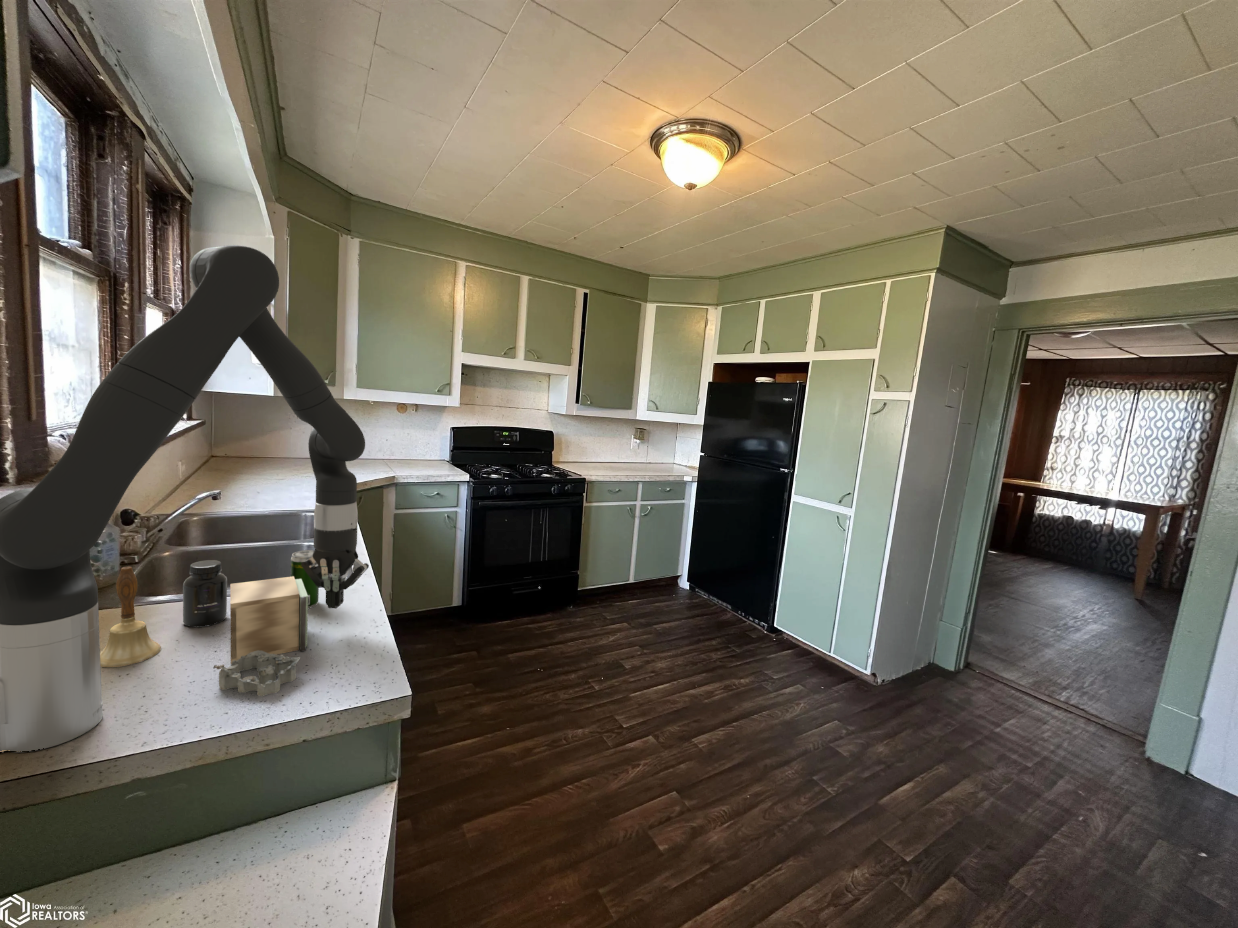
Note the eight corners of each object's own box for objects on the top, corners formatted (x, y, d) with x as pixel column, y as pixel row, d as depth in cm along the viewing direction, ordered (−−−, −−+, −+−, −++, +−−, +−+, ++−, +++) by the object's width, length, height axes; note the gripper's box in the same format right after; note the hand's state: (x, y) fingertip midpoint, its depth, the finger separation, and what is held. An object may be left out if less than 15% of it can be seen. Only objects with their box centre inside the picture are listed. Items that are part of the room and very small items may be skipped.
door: (299, 647, 93) (300, 597, 91) (293, 626, 100) (294, 579, 99) (313, 645, 94) (314, 595, 93) (306, 624, 101) (307, 577, 100)
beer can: (320, 607, 110) (321, 555, 109) (291, 612, 107) (292, 558, 105) (316, 598, 114) (317, 548, 113) (288, 603, 111) (289, 551, 109)
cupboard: (230, 666, 85) (230, 605, 84) (230, 639, 94) (230, 583, 93) (305, 651, 92) (306, 595, 91) (299, 627, 101) (299, 575, 99)
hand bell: (173, 648, 89) (171, 563, 87) (119, 671, 81) (116, 578, 79) (136, 640, 91) (134, 556, 89) (80, 662, 83) (76, 571, 81)
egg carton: (209, 689, 79) (208, 665, 79) (251, 665, 87) (251, 643, 86) (266, 701, 78) (266, 676, 77) (304, 676, 85) (304, 653, 84)
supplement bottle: (203, 630, 96) (202, 571, 95) (173, 624, 97) (172, 566, 96) (235, 616, 103) (235, 560, 101) (207, 611, 104) (207, 556, 102)
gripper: (290, 525, 94) (289, 611, 96) (358, 531, 94) (356, 617, 96) (315, 516, 101) (314, 596, 104) (378, 522, 101) (376, 602, 104)
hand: (334, 606), depth 100 cm, fingers closed
